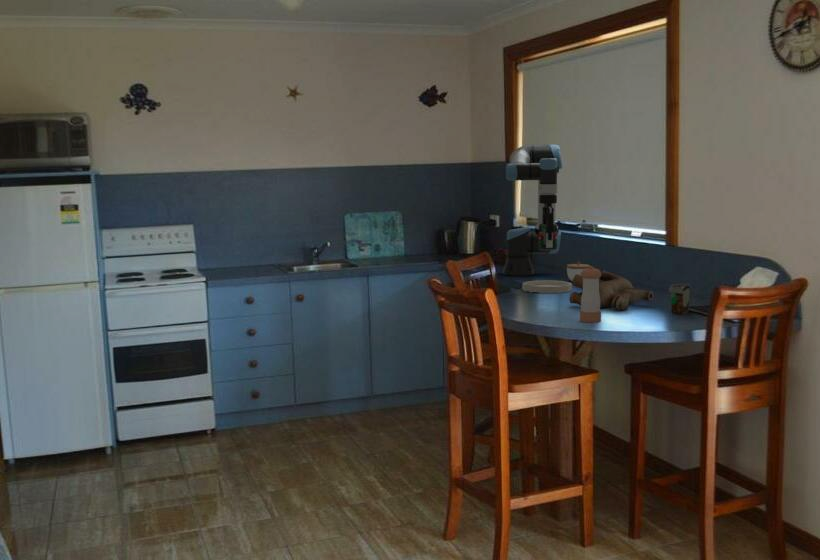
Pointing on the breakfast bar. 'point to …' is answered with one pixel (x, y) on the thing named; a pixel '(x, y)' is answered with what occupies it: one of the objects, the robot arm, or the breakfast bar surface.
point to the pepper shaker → (590, 296)
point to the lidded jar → (575, 269)
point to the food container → (680, 298)
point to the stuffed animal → (612, 291)
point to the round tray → (547, 286)
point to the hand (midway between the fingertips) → (547, 246)
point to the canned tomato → (543, 237)
